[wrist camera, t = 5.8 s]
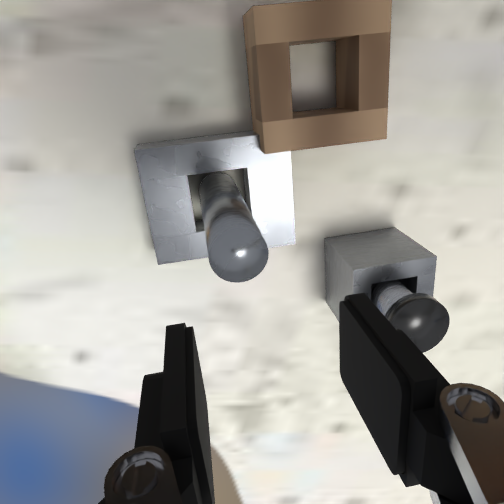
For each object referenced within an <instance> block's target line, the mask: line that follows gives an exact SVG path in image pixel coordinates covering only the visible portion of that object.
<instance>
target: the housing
mask: <svg viewBox="0 0 504 504" xmlns="http://www.w3.org/2000/svg"><path fill="white" fill-rule="evenodd" d="M436 260H437V256H436V255H434V254H433V253H431V252H430V251H428V250H427V249H425V248H424V247H423V246H421V245H420V244H418V243H417V242H415V241H414V240H412V239H411V238H410V237H408V236H407V235H405V234H404V233H402V232H401V231H399V230H398V229H396V228H388V229H382V230H375V231H369V232H362V233H355V234H349V235H342V236H336V237H329V238H325V272H326V303H327V304H328V306H329V307H330V309H331V310H332V312H333V313H334V315H335V316H336V318H337V320H338V321H339V303H340V301H344V298H345V296H346V295H352V294H358V293H365V294H366V295H367V296H368V297H369V299H370V300H371V284H374V283H380V282H386V281H392V280H399V281H400V282H401V283H402V284H403V285H404V286H405V287H406V288H407V289H408V290H410V291H411V292H412V293H425V294H428V295H430V296H432V297H433V290H434V280H435V270H436Z"/></svg>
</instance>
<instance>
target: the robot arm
mask: <svg viewBox="0 0 504 504" xmlns="http://www.w3.org/2000/svg"><path fill="white" fill-rule="evenodd" d="M339 335H340V374H341V378H342V381H343V383H344V385H345V387H346V389H347V390H348V392H349V394H350V396H351V398H352V400H353V402H354V404H355V405H356V407H357V409H358V411H359V413H360V415H361V417H362V418H363V420H364V422H365V424H366V426H367V428H368V430H369V432H370V433H371V435H372V437H373V439H374V441H375V443H376V445H377V446H378V448H379V450H380V452H381V454H382V456H383V458H384V460H385V461H386V463H387V465H388V467H389V469H390V471H391V472H392V473H393V475H397V474H399V475H400V477H401V479H402V481H403V483H404V484H405V486H406V487H409V486H414V485H418V484H420V485H421V486H423V487H425V488H427V489H429V491H430V496H431V499H432V502H433V504H504V402H503V401H502V400H501V399H500V397H499V396H497V395H496V394H494V393H493V392H491V391H490V390H488V389H485V388H483V387H481V386H478V385H474V384H468V383H457V384H451V385H450V384H449V383H448V382H447V380H446V379H445V378H444V377H443V376H442V375H441V374H440V372H439V371H438V370H437V369H436V368H435V367H434V366H433V365H432V363H431V362H430V361H429V360H428V359H427V358H426V357H425V355H424V354H423V353H422V352H421V351H420V350H419V349H418V348H417V346H416V345H415V344H414V343H413V342H412V341H411V340H410V338H409V337H408V336H407V335H406V334H405V333H404V332H403V331H402V330H400V329H395V328H394V326H393V325H392V324H391V323H390V322H389V321H388V320H387V318H386V317H385V316H384V315H383V314H382V313H381V311H380V310H379V309H378V308H377V307H376V306H375V304H374V303H373V302H372V301H371V300H370V299H369V297H368V296H367V295H366V294H365V293H358V294H352V295H346V296H345V298H344V301H340V303H339ZM104 496H105V497H104V498H103V500H101V501H100V502H99V503H98V504H215V498H214V486H213V474H212V461H211V448H210V435H209V423H208V410H207V401H206V395H205V389H204V384H203V378H202V373H201V368H200V362H199V357H198V351H197V346H196V341H195V335H194V330H193V326H192V327H186V325H185V323H181V324H175V325H169V326H166V337H165V353H164V370H163V372H159V373H154V374H148V375H145V376H144V378H143V384H142V392H141V400H140V408H139V416H138V423H137V431H136V440H135V448H134V449H132V450H130V451H128V452H126V453H124V454H123V455H122V456H120V457H119V458H118V459H117V460H116V461H115V462H114V463H113V465H112V466H111V467H110V468H109V470H108V472H107V474H106V477H105V482H104Z"/></svg>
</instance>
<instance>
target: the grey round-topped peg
mask: <svg viewBox="0 0 504 504" xmlns="http://www.w3.org/2000/svg"><path fill="white" fill-rule="evenodd" d="M199 196H200V203H201V210H202V216H203V223H204V230H205V236H206V243H207V250H208V256H209V262H210V265H211V268H212V269H213V271H214V272H215V273H216V274H217V275H218V276H219V277H220V278H222V279H224V280H226V281H230V282H245V281H248V280H250V279H252V278H254V277H256V276H257V275H258V274H259V273H260V272H261V271H262V270H263V269H264V267H265V265H266V263H267V260H268V247H267V244H266V242H265V240H264V238H263V236H262V234H261V232H260V230H259V228H258V226H257V224H256V222H255V220H254V218H253V216H252V214H251V212H250V211H249V209H248V207H247V205H246V203H245V201H244V199H243V197H242V195H241V193H240V191H239V189H238V187H237V185H236V183H235V182H234V180H233V179H232V178H231V177H230V176H229V175H227V174H225V173H221V172H216V173H212V174H209V175H208V176H206V177H205V178H204V179H203V180H202V182H201V184H200V187H199Z"/></svg>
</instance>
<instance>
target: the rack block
mask: <svg viewBox="0 0 504 504" xmlns="http://www.w3.org/2000/svg"><path fill="white" fill-rule="evenodd" d="M391 7H392V0H316V1H304V2H293V3H281V4H270V5H258V6H252V7H251V8H250V9H249V10H248V11H247V12H246V14H245V15H244V16H243V25H244V36H245V47H246V58H247V69H248V80H249V91H250V102H251V113H252V124H253V131H255V132H256V133H258V134H259V137H260V148H261V151H262V152H263V153H264V154H271V153H279V152H286V151H294V150H302V149H310V148H318V147H326V146H333V145H341V144H349V143H357V142H365V141H373V140H381V139H387V114H388V87H389V60H390V34H391ZM330 41H336V107H333V108H325V109H316V110H308V111H299V112H293V111H292V92H291V73H290V54H289V45H299V44H309V43H319V42H330Z"/></svg>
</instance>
